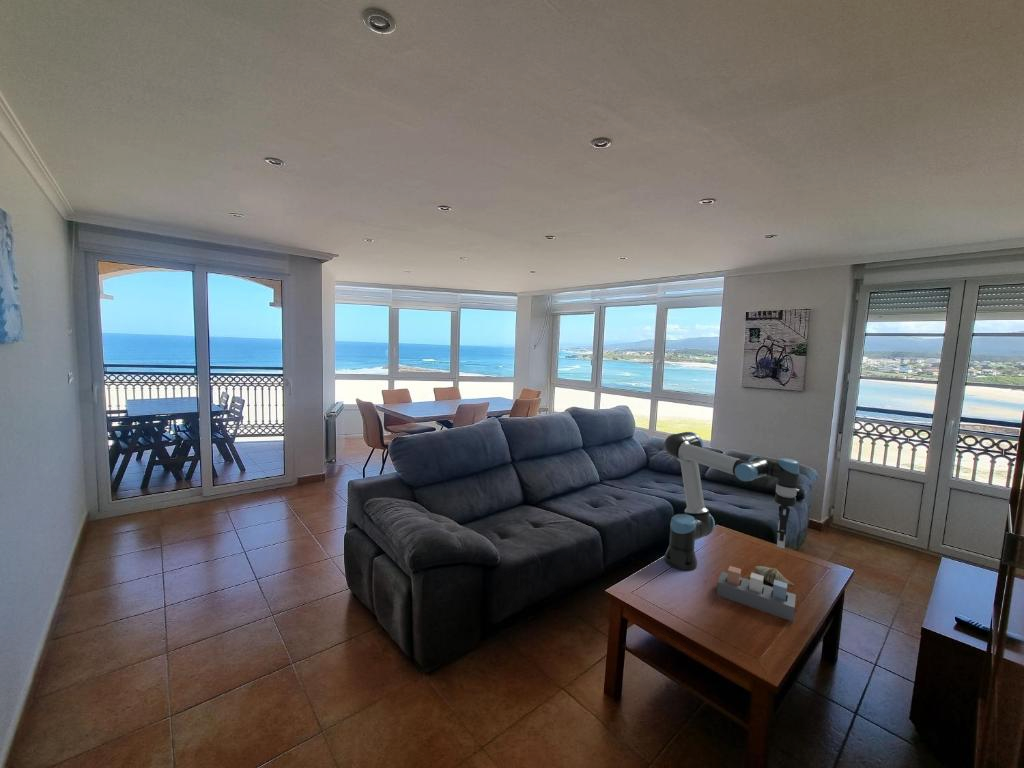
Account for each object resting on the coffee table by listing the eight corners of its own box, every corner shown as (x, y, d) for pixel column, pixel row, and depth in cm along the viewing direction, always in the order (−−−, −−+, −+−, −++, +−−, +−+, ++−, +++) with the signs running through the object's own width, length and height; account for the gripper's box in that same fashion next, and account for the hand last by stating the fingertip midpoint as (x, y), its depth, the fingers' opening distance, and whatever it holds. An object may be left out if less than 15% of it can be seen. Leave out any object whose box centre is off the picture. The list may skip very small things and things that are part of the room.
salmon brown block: (726, 585, 181) (728, 570, 180) (728, 580, 185) (729, 565, 184) (738, 589, 178) (739, 573, 178) (740, 584, 182) (741, 569, 181)
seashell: (796, 578, 186) (781, 562, 185) (791, 596, 181) (776, 580, 181) (767, 576, 198) (753, 562, 198) (762, 593, 193) (747, 578, 193)
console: (716, 594, 181) (717, 582, 180) (721, 583, 189) (722, 571, 189) (793, 621, 164) (794, 607, 164) (794, 607, 173) (795, 594, 172)
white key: (748, 592, 176) (750, 577, 175) (750, 587, 180) (751, 572, 179) (761, 596, 173) (762, 580, 172) (762, 591, 177) (763, 576, 176)
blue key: (772, 600, 171) (773, 584, 170) (772, 594, 175) (774, 579, 174) (785, 604, 168) (786, 588, 167) (785, 599, 172) (787, 583, 171)
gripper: (796, 506, 166) (791, 555, 168) (795, 488, 186) (790, 532, 189) (774, 501, 170) (769, 550, 172) (776, 484, 190) (771, 528, 193)
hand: (780, 541), depth 180 cm, fingers open, 13 cm apart
